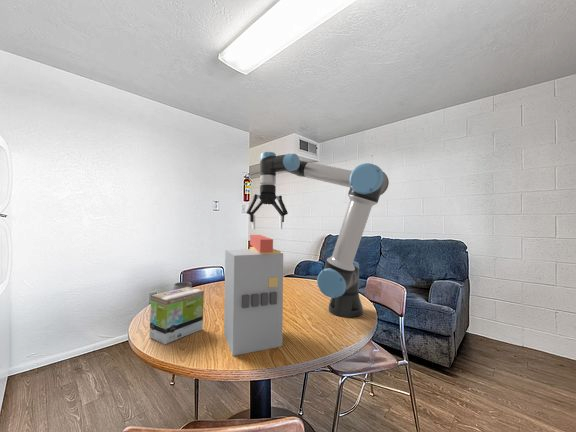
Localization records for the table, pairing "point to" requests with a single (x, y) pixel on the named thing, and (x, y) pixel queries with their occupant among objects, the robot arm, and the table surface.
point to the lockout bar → (261, 243)
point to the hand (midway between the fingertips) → (267, 229)
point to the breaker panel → (253, 301)
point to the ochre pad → (266, 252)
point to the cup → (182, 285)
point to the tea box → (176, 314)
